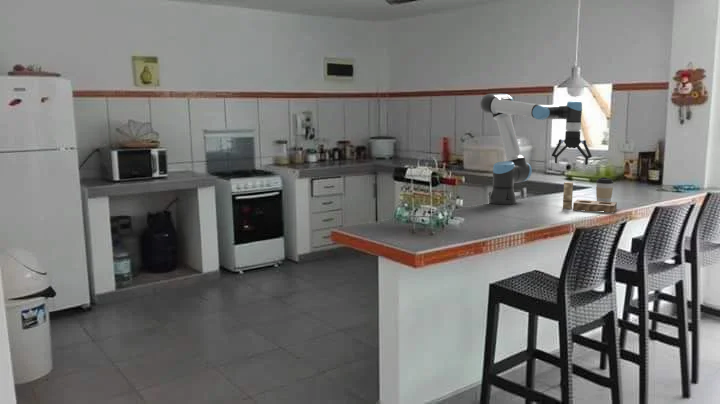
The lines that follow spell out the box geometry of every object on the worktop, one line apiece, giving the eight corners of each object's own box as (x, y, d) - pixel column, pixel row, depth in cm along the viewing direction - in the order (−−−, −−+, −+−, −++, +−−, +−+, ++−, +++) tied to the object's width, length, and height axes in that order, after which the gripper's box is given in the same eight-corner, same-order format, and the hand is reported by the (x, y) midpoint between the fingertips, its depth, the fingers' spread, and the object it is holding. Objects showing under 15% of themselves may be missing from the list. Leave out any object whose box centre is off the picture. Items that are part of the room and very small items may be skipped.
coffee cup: (613, 206, 321) (615, 179, 318) (596, 205, 322) (598, 179, 320) (610, 203, 329) (611, 177, 327) (593, 203, 331) (594, 177, 329)
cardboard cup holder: (573, 210, 310) (573, 202, 310) (576, 206, 321) (577, 199, 320) (613, 213, 300) (614, 205, 300) (616, 209, 311) (616, 202, 310)
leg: (562, 208, 317) (563, 182, 314) (564, 207, 320) (565, 181, 318) (570, 208, 315) (571, 183, 312) (571, 207, 318) (573, 182, 316)
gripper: (547, 130, 313) (545, 169, 317) (597, 131, 302) (594, 172, 306) (550, 129, 320) (547, 168, 323) (598, 130, 309) (596, 170, 312)
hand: (570, 170), depth 315 cm, fingers open, 13 cm apart
